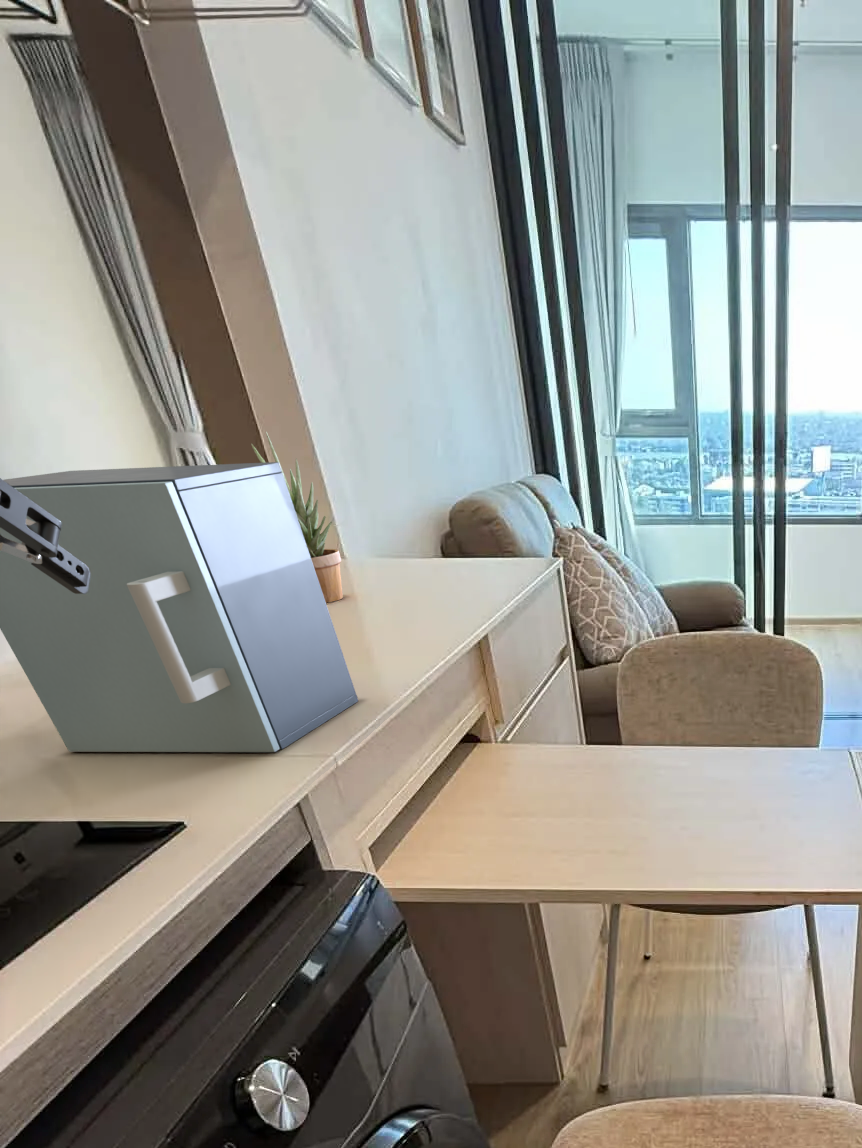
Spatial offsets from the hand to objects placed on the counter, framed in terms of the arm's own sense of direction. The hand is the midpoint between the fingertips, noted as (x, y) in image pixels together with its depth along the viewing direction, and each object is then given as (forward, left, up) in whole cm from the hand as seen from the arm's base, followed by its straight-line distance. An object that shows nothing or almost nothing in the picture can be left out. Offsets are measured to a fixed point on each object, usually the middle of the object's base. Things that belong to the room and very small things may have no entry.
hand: (35, 584), depth 64 cm
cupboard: (-9, +24, -19) cm, 32 cm away
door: (-9, +12, -18) cm, 24 cm away
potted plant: (-35, +90, -19) cm, 98 cm away
